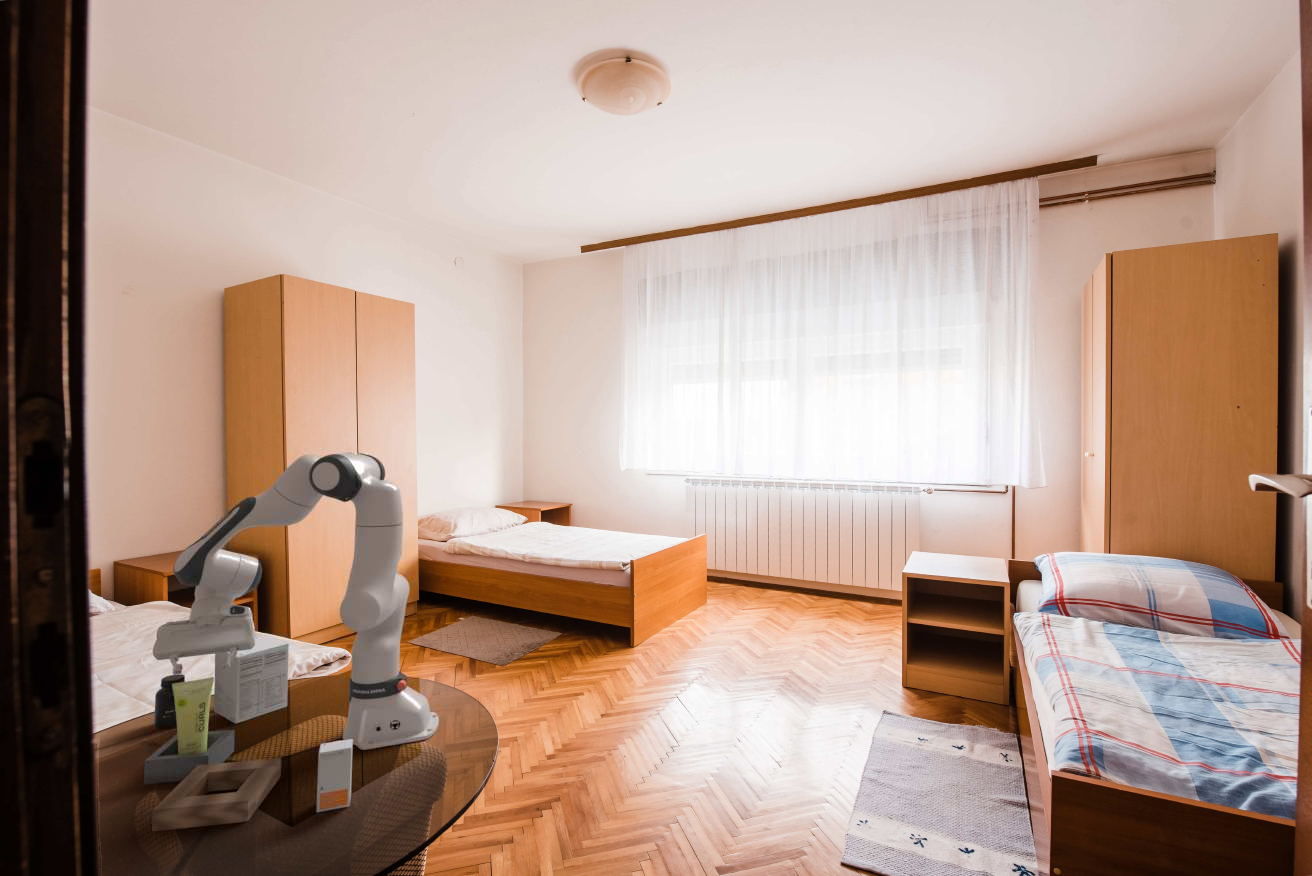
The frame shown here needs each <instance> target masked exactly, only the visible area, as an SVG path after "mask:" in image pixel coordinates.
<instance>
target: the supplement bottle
mask: <svg viewBox="0 0 1312 876" xmlns="http://www.w3.org/2000/svg"><path fill="white" fill-rule="evenodd" d="M185 679H186V676H185V674H182V673H181V674H175V675H173V674H171V675H166V676H164V677H162V678H161V680H160V687H161V688H160V689H158V690H157V691H156V693H155V696H154V697H155V699H154V700H155V701H154V718H153V719H154V720H153V721H154V722H153V726H154V728H155V729H158V730H170V729H174V728H177V720H176V709H175V700H174V693H173V688H172V684H175V683H181V682H186V681H185Z"/></svg>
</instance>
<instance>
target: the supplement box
mask: <svg viewBox="0 0 1312 876" xmlns="http://www.w3.org/2000/svg"><path fill="white" fill-rule="evenodd" d="M289 645H290V644H289V643H287V642H285V641H282V640H279V639H276V638H274V637H271V636H268V635H262V636H259V637H258V636H257V637H255V646H254V647H253V648H252V649H250V650H241V651H237V655H236V656H235V657H234V659H233V660H232V661H231V663H230V667H229V668H222V663H223V662H222V660H223V659H225V658H227V657H228V656H229V655H230V652H224V653H216V654H214V690H213V691H214V692H213V693H214V695H213V696H214V699H213V702H214V703H213V712H214V713H215V714H218V715H219V716H221V717H223V718H225V719H226V720H228V721H230V722H231V723H234V724H238V723H242V722H245V721H248V720H251V719H254V718H257V717H260V716H263V715H265V714H268V713H272V712H275V711H277V710H280V709H284V708H287V707H288V687H289V686H288V681H289V678H288V677H289V647H290V646H289Z"/></svg>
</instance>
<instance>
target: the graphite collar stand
mask: <svg viewBox="0 0 1312 876" xmlns="http://www.w3.org/2000/svg"><path fill="white" fill-rule="evenodd" d="M235 733H236V732H235V729H226V730H212V731H208V735H207V750H206V751H205V752H204V753H193V754H181V755H178V735H177V733H176V734H175V735H173V736H172V737H171V738H170V739H169V740H168V741H166V743H164V744H163V745H162V746H161V747H159V748H158V749H157V750H155V752H153V753H152V754H151V755H150V756H149V757H147V758H146V759H145V760H144V767H143V768H144V770H143V773H144V774H143V779H144V780H143V785H151V784H152V785H153V784H163V783H164V784H165V783H172V782H174V783H175V782H182V781H183V780H184V779H185V778H186V777H187V776H188V775H189V774H190V773H191V772H192V771H193V770H194V769H195V768H196V767H197V766H198V765H207V764H219V763H225V761H226V760H227V759H228V758H229V757H230V756H231V755H232V754H233V752H235Z"/></svg>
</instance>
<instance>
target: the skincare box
mask: <svg viewBox="0 0 1312 876" xmlns="http://www.w3.org/2000/svg"><path fill="white" fill-rule="evenodd" d="M319 745H320V746H319V750H318V758H317V759H318V762H317V783H316V784H317V786H316V788H317V789H316V813H321V812H326V811H330V810H331V811H332V810H336V809H342V808H348V807H350V804H351V799H352V797H351V796H352V771H353V746H354V745H353V739H349V740H344V739H342V740H336V741H335V740H334V741H332V742H325V743H320V744H319Z"/></svg>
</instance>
